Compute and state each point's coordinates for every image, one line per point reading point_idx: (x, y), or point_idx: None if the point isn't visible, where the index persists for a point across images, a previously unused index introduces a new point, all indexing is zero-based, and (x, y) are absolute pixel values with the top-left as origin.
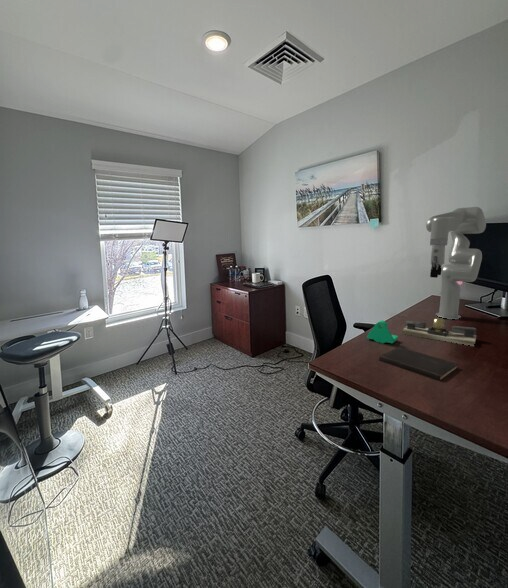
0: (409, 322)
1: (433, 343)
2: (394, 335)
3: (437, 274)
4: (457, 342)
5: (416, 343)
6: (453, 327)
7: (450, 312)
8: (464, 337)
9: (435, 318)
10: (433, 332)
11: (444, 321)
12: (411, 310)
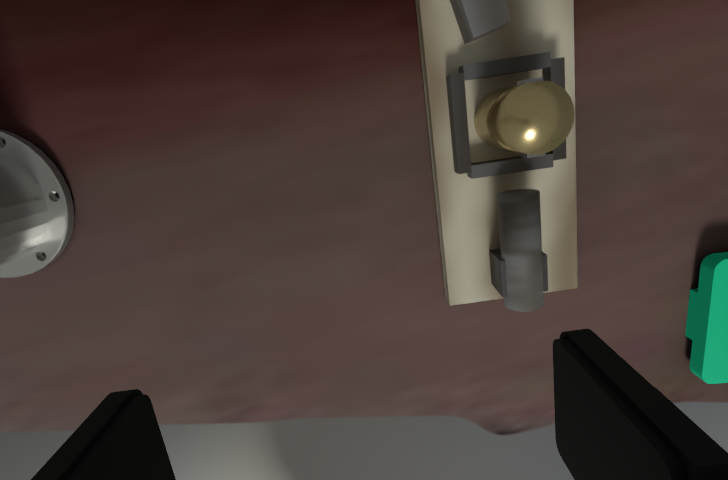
0: (542, 284)
1: (634, 95)
2: (718, 276)
3: (624, 366)
4: None
5: (685, 164)
6: (508, 22)
7: (9, 185)
8: None
9: (536, 144)
10: None
11: (541, 77)
12: (32, 419)
